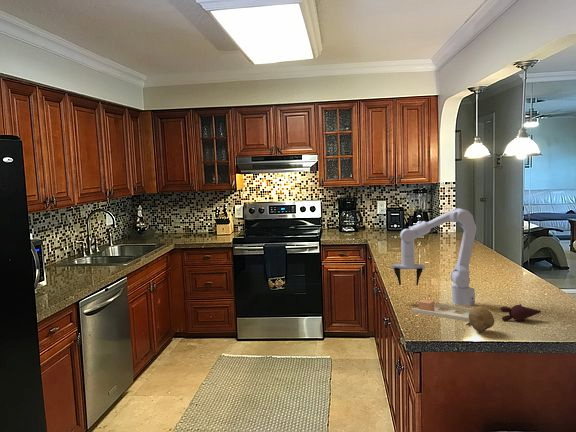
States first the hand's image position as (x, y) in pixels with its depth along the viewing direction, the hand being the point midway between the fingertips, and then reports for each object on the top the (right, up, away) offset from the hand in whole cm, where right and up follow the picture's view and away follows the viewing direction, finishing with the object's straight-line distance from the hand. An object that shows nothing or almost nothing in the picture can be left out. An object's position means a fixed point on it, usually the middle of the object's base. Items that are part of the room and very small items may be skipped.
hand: (408, 284), depth 220 cm
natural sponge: (+19, -13, -36) cm, 43 cm away
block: (+5, -10, -12) cm, 16 cm away
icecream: (+39, -11, -25) cm, 48 cm away
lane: (+12, -11, -16) cm, 23 cm away
